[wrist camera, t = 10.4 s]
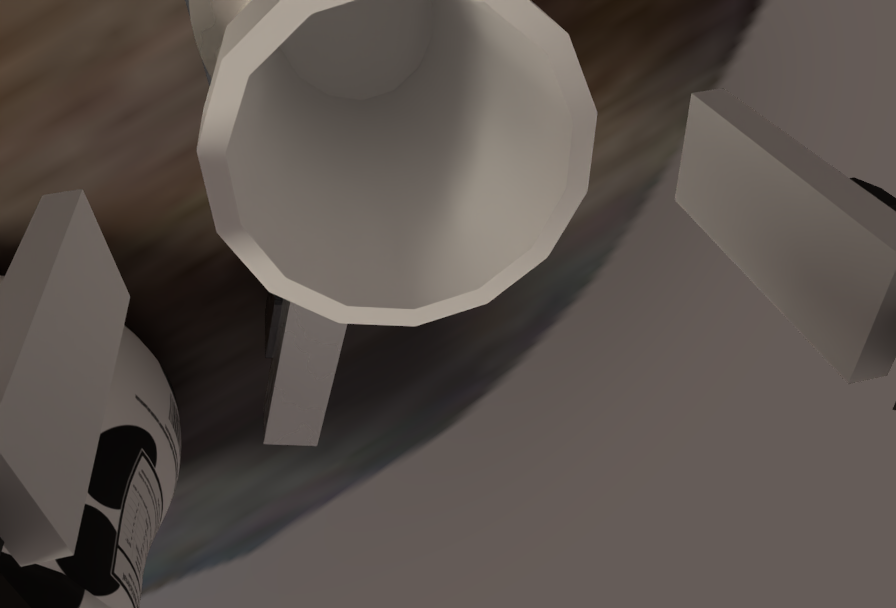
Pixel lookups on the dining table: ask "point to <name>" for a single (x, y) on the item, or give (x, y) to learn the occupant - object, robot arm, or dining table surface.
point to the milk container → (116, 494)
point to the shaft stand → (280, 301)
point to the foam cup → (394, 151)
